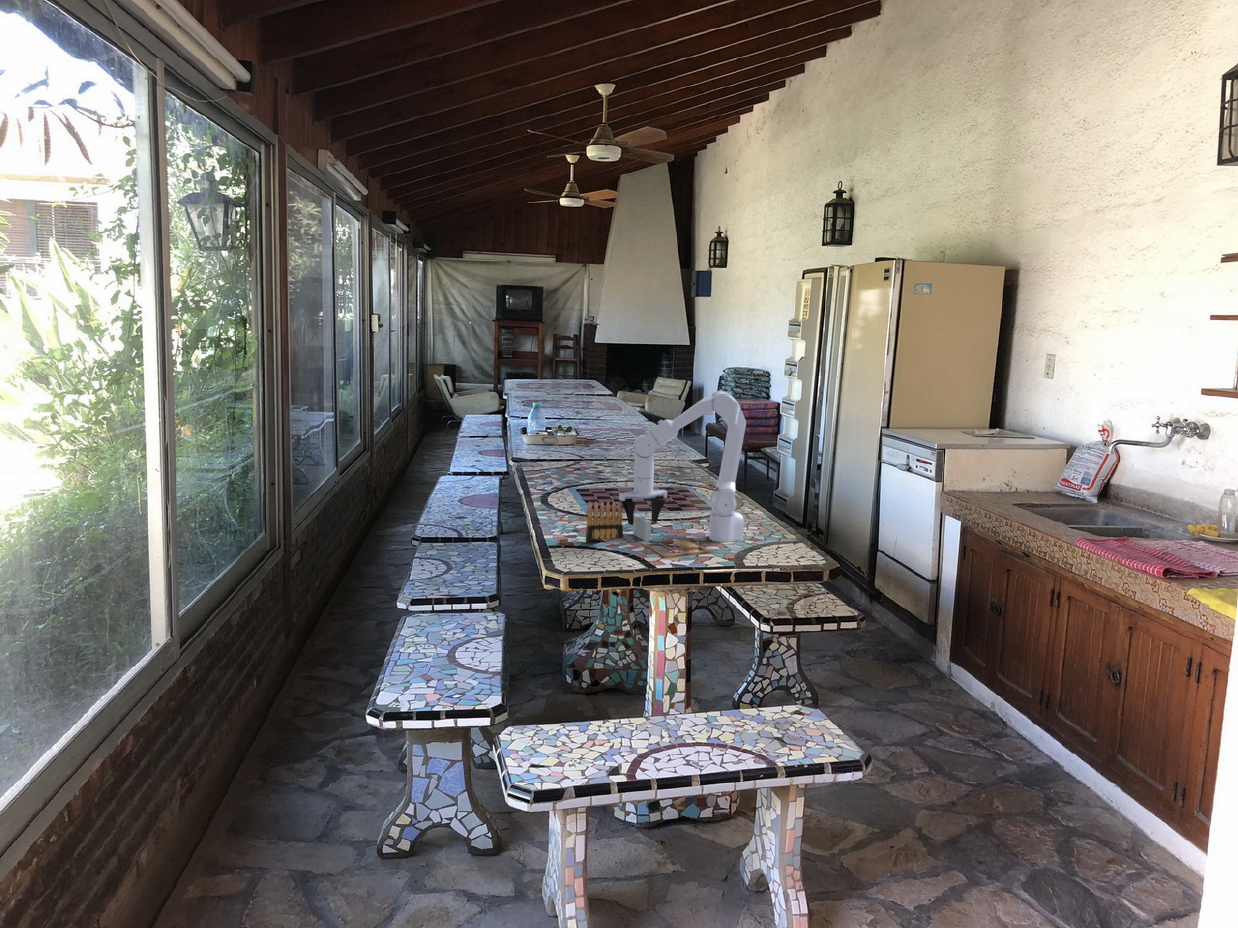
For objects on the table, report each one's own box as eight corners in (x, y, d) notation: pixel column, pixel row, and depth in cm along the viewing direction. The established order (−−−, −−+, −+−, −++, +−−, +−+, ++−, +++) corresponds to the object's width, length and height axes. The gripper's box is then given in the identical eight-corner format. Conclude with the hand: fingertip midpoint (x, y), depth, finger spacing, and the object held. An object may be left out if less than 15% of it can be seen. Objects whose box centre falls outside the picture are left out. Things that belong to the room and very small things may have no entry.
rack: (686, 545, 249) (686, 538, 248) (710, 557, 237) (710, 550, 236) (641, 549, 243) (642, 542, 243) (663, 562, 231) (663, 555, 231)
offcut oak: (683, 542, 247) (683, 539, 247) (698, 549, 240) (698, 546, 240) (674, 543, 245) (674, 540, 245) (689, 550, 239) (689, 547, 238)
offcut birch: (683, 544, 248) (683, 541, 248) (700, 553, 239) (700, 550, 239) (672, 545, 246) (673, 542, 246) (689, 555, 237) (689, 551, 237)
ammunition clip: (621, 540, 252) (622, 500, 251) (623, 541, 250) (623, 501, 249) (585, 541, 250) (586, 500, 248) (586, 543, 248) (587, 502, 247)
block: (638, 538, 256) (639, 515, 254) (650, 545, 249) (651, 521, 247) (632, 538, 255) (633, 515, 254) (644, 545, 248) (645, 521, 247)
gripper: (659, 473, 255) (658, 517, 257) (615, 475, 249) (614, 521, 251) (671, 477, 249) (669, 523, 251) (625, 480, 243) (624, 527, 245)
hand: (642, 522), depth 251 cm, fingers open, 7 cm apart
